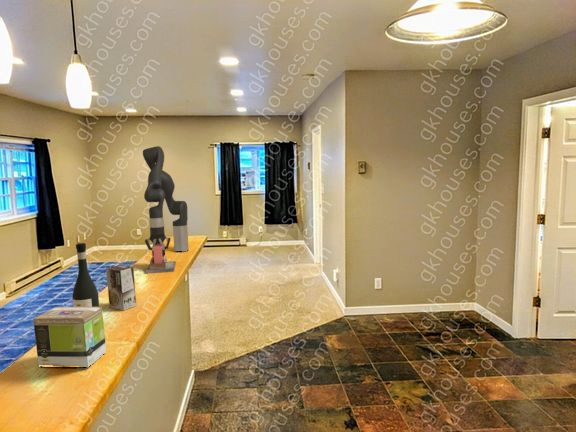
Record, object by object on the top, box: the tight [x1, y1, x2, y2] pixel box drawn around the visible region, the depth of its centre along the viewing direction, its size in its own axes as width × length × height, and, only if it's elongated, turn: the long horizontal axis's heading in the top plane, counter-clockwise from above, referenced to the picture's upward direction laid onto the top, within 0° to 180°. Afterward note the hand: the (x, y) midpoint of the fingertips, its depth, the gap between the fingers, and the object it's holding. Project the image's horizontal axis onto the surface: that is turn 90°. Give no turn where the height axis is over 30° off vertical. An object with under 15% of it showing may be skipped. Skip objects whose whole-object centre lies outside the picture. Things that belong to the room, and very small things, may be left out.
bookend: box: [164, 255, 173, 268], centre depth 223 cm, size 10×4×4 cm, turn 13°
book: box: [153, 244, 165, 264], centre depth 222 cm, size 4×12×10 cm, turn 13°
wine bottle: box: [72, 242, 100, 307], centre depth 139 cm, size 8×8×30 cm
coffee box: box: [105, 264, 137, 311], centre depth 161 cm, size 9×6×16 cm
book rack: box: [145, 256, 177, 275], centre depth 222 cm, size 18×14×6 cm
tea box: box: [32, 306, 107, 367], centre depth 116 cm, size 15×10×15 cm, turn 84°
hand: (159, 256), depth 222 cm, fingers closed on book, 4 cm apart
